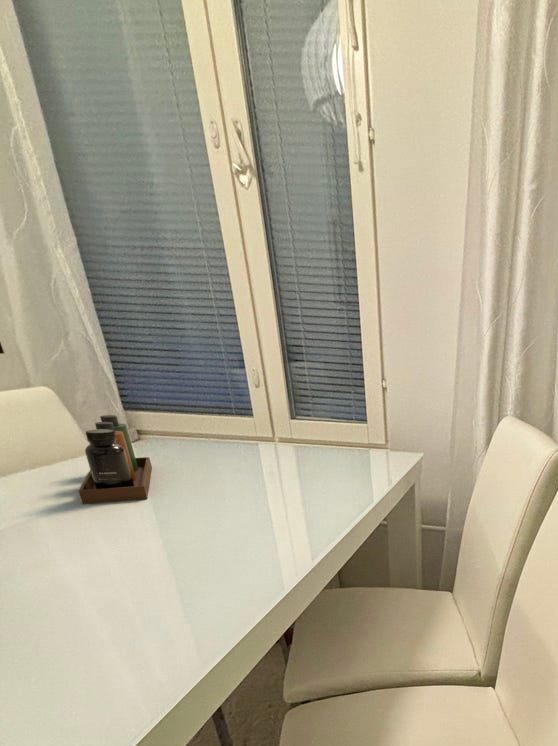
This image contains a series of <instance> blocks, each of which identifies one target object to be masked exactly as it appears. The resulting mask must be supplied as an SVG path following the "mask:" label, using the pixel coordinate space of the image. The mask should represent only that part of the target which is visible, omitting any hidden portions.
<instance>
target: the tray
mask: <svg viewBox="0 0 558 746" xmlns="http://www.w3.org/2000/svg"><path fill="white" fill-rule="evenodd" d="M135 458H136V462H137V465H138V470H137V471H134V473H135V476H136V480H134V481H133V483H134V486H132V487H118V488H104V489H96V487H95V483H94V480H93V477H92V473H91V470H90V469H89V471H88V473H87V475H86V477H85V478H84V480H83V482H82V483H81V486H80V487H79V489H78V491H77V492H78V494H79V498H80V500H81V504H82V505H89V504H90V505H91V504H102V503H114V502H127V501H138V500H147V499H148V496H149V490H150V485H151V484H150V483H151V479H152V471H153V466H152V462H151V459H150V457H148V456H146V457H135Z"/></svg>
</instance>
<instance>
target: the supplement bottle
mask: <svg viewBox="0 0 558 746" xmlns="http://www.w3.org/2000/svg"><path fill="white" fill-rule="evenodd" d="M85 435H86V440H87V442H89V444H88V445H87V446H86V447H85V449H84V453H85V456H86V460H87V463H88V467H89V471H90V470H91V473H92V477H93V480H94V483H95V487H96V489H104V488H118V487H132V486H134V483H133V479H132V475H131V471H130V468H129V464H128V460H127V456H126V452H125V449H124V448H123V447H122V446H121V445H119V444H117V443H116V440H117V439H116V437H115V433H114V431H113V430H109V429H96V428H95V429H88V430H85Z"/></svg>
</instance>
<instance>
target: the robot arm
mask: <svg viewBox="0 0 558 746" xmlns="http://www.w3.org/2000/svg"><path fill="white" fill-rule="evenodd" d="M0 354H1V355H2V354H5V350H4V348H3V345H2V342H1V341H0Z"/></svg>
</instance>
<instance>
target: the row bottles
mask: <svg viewBox="0 0 558 746" xmlns="http://www.w3.org/2000/svg"><path fill="white" fill-rule="evenodd" d="M99 418H100V421H99V422H95V423H94V425H95V429H109V430H113V431H114V433H115V437H116V439H117V440H116V443H117V444H119V445H121V446H122V447H123V448H124V449H125V452H126V456H127V460H128V464H129V468H130V471H131V475H132V479H133V481H134V480H136V476H135V473H134V471H137V470H138V465H137V462H136V458H137V457H136V455H135V452H134V447H133V445H132V440H131V436H130V432H129V429H128V426H127V424H125V423H120V422H119V419H118V415H115V414H105V415H100V416H99Z"/></svg>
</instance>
